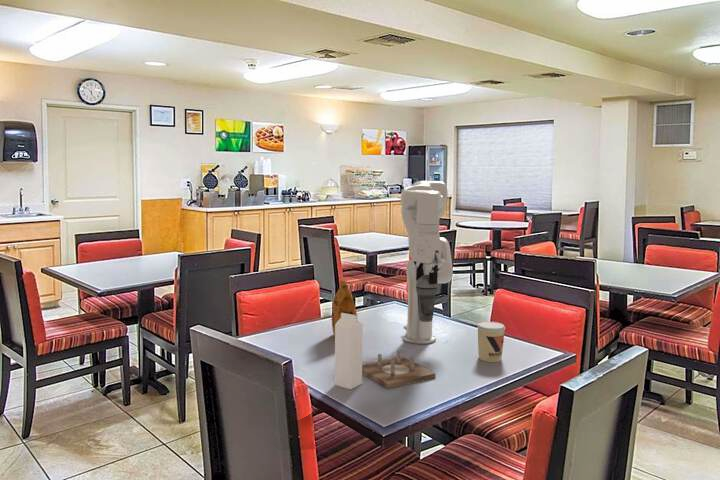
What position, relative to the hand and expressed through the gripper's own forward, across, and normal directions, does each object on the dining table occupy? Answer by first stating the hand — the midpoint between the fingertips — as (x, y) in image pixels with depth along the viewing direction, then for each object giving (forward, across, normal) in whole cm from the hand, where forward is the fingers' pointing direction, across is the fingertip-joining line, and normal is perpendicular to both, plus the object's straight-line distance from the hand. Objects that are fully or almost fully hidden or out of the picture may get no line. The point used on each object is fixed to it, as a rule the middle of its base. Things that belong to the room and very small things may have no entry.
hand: (426, 281), depth 192 cm
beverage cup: (+14, 0, 0) cm, 14 cm away
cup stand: (+28, +5, -16) cm, 32 cm away
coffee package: (+28, -37, -10) cm, 47 cm away
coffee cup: (+28, +10, +21) cm, 36 cm away
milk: (+28, +5, -34) cm, 44 cm away
